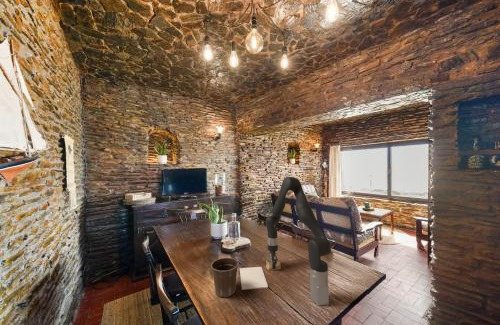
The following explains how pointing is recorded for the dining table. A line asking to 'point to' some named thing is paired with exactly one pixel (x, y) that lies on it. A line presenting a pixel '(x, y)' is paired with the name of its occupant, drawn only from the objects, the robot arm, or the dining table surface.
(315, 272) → the robot arm
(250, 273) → the felt mat
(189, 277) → the dining table surface
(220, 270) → the plant pot
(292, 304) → the dining table surface
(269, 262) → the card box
